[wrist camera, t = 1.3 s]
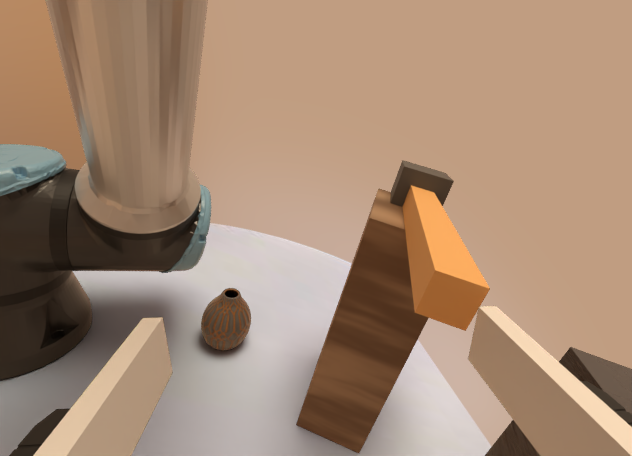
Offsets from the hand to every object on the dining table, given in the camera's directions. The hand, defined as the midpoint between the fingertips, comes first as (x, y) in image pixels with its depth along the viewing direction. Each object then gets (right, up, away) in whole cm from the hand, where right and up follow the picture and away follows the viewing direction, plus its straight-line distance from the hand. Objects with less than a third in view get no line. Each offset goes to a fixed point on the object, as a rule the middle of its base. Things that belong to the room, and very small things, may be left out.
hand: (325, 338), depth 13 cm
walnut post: (+2, -19, +29) cm, 34 cm away
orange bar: (+8, +4, +12) cm, 15 cm away
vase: (-14, -12, +33) cm, 38 cm away
